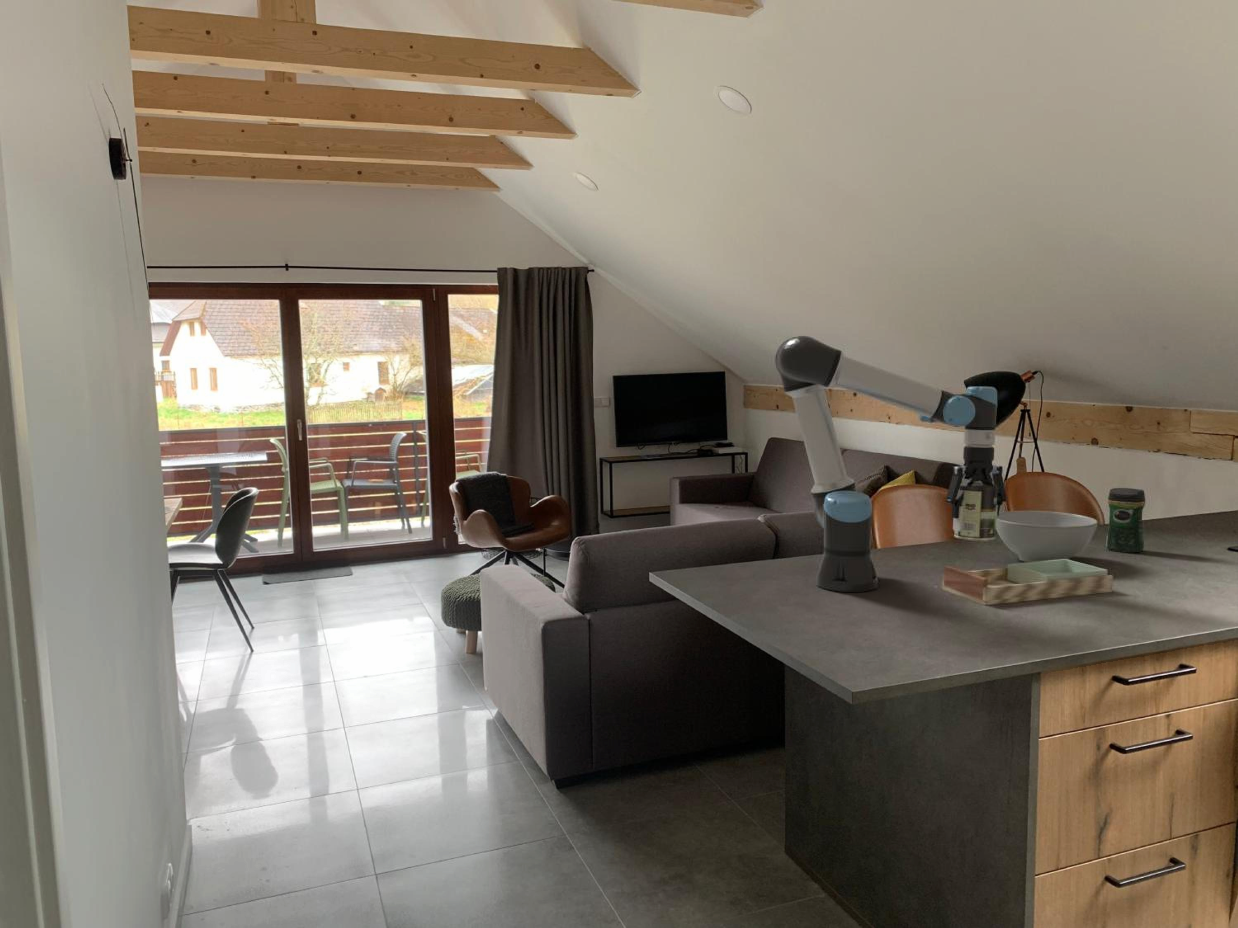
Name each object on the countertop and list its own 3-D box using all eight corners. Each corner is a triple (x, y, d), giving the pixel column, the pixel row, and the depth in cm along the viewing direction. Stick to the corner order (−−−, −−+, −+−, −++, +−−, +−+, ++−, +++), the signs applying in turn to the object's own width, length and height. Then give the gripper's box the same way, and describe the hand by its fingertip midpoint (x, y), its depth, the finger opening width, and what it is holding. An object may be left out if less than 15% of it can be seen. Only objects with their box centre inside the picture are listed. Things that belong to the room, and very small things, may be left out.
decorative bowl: (1045, 548, 279) (1047, 508, 278) (1118, 566, 254) (1120, 522, 252) (971, 554, 270) (972, 513, 269) (1039, 574, 245) (1041, 529, 244)
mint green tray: (1046, 592, 222) (1047, 575, 221) (1007, 579, 235) (1007, 564, 234) (1106, 585, 227) (1107, 569, 227) (1065, 573, 240) (1065, 558, 240)
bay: (984, 605, 216) (985, 579, 215) (941, 589, 231) (942, 565, 230) (1112, 591, 226) (1113, 567, 226) (1063, 577, 242) (1064, 554, 241)
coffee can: (991, 534, 249) (993, 482, 247) (998, 542, 239) (1001, 487, 237) (950, 533, 251) (953, 481, 249) (956, 540, 241) (959, 486, 239)
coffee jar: (1146, 550, 274) (1149, 488, 272) (1138, 554, 268) (1141, 491, 266) (1110, 546, 280) (1113, 485, 278) (1102, 550, 275) (1105, 488, 273)
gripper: (951, 447, 235) (947, 534, 238) (1025, 446, 242) (1020, 530, 244) (933, 445, 242) (929, 528, 245) (1005, 443, 249) (1000, 525, 252)
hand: (974, 529), depth 245 cm, fingers closed on coffee can, 10 cm apart
